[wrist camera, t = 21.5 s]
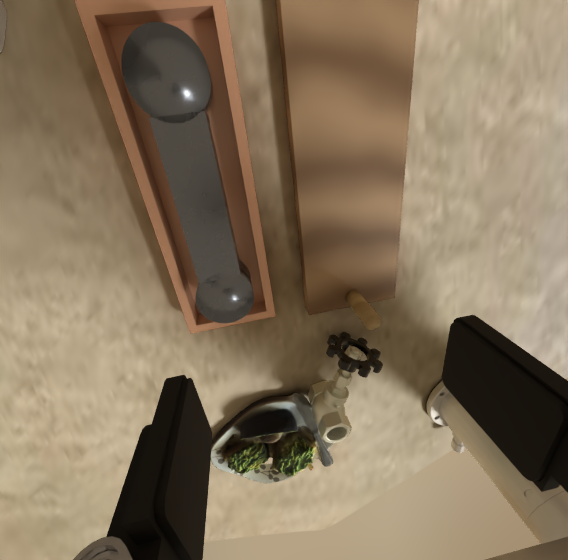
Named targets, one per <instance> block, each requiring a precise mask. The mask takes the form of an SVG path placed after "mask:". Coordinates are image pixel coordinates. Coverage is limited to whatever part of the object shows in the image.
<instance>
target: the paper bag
mask: <svg viewBox="0 0 568 560" xmlns="http://www.w3.org/2000/svg"><path fill="white" fill-rule="evenodd" d="M6 23H7V14H6V9H5V6H4V3H3V1H2V0H0V53H1V52H2V50H3V47H4V40H5V32H6Z"/></svg>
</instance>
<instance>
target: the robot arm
mask: <svg viewBox="0 0 568 560" xmlns="http://www.w3.org/2000/svg"><path fill="white" fill-rule="evenodd" d="M426 409H427V413H428V414H429V416H430V417H431V419H432V420H433V421H434V422H435V423H437V424H439V425H443V426H449V428H450V429H451V430H452V434H453V436H454V437H453V439H452V443H451V446H452V448H453V450H455V451H456V452H459V453H463V452H464V450H465V447H466V448H467V449H468V451H469V452H470V453H471V455H472V456H473V457H474V459H475V460H476V461H477V462H478V464H479V465H480V466H481V468H482V469H483V470H484V471H485V473H486V474H487V475H488V476H489V478H490V479H491V481H492V482H493V483H494V484H495V486H496V487H497V488H498V489H499V491H500V492H501V494H502V495H503V496H504V497H505V499H506V500H507V501H508V503H509V504H510V505H511V506H512V508H513V509H514V510H515V512H516V513H517V514H518V516H519V517H520V518H521V519H522V521H523V522H524V523H525V525H526V526H527V527H528V529H529V530H530V531H531V532H532V534H533V535H534V536H535V538H536V539H537V540H538V541H539V542H540V543H541V544H539V545H536V546H532V547H529V548H525V549H521V550H518V551H514V552H511V553H507V554H504V555H500V556H496V557H493V558H489V559H486V560H568V381H567V380H566V379H564V378H563V377H561V376H560V375H559V374H557V373H556V372H554V371H553V370H552V369H550V368H549V367H547V366H546V365H544V364H543V363H542V362H540V361H539V360H537V359H536V358H535V357H533V356H532V355H530V354H529V353H527V352H526V351H525V350H523V349H522V348H520V347H519V346H518V345H516V344H515V343H513V342H512V341H511V340H509V339H508V338H506V337H505V336H503V335H502V334H501V333H499V332H498V331H496V330H495V329H494V328H492V327H491V326H489V325H488V324H486V323H485V322H484V321H482V320H481V319H479V318H478V317H476V316H474V315H470V316H465V317H460V318H456V319H455V320H454V322H453V323H452V324H451V326H450V332H449V338H448V343H447V349H446V355H445V361H444V367H443V373H442V381H441V382H440V383H439V384H438V385H437V386H436V387H435V388H434V390H433V391H432V392H431V394H430V396H429V398H428V401H427V407H426ZM211 448H212V432H211V428H210V425H209V423H208V420H207V417H206V415H205V412H204V409H203V407H202V404H201V401H200V399H199V396H198V393H197V391H196V388H195V386H194V383H193V380H192V379H191V378H188V379H187V378H186V376H185V375H181V376H176V377H171V378H167V379H166V380H165V382H164V386H163V389H162V392H161V395H160V399H159V402H158V405H157V409H156V412H155V415H154V419H153V422H152V424H151V425H147V426H145V427H144V428H143V430H142V432H141V434H140V437H139V440H138V443H137V446H136V449H135V452H134V455H133V458H132V461H131V464H130V467H129V470H128V473H127V476H126V479H125V482H124V485H123V488H122V491H121V494H120V497H119V500H118V503H117V506H116V509H115V512H114V515H113V518H112V522H111V525H110V528H109V531H108V534H107V537H104V538H101V539H99V540H97V541H95V542H93V543H91V544H90V545H88V546H87V547H86V548H85V549H83V550H82V551H81V552H80V553H79V554H78V555H77V556H76V557H75V558H74V559H73V560H202V558H203V546H204V534H205V522H206V509H207V497H208V485H209V472H210V460H211Z"/></svg>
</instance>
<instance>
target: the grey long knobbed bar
mask: <svg viewBox="0 0 568 560" xmlns="http://www.w3.org/2000/svg"><path fill="white" fill-rule="evenodd" d="M121 66H122V74H123V78H124V81H125V84H126V87H127V89H128V91H129V93H130V95H131V96H132V98H133V99H134V101H135V102H136V103H137V104H138V106H139V107H140V108H141V109H142V110H144V111H145V112H146V113H147V114H149V115H150V116H152V118H149V120H150V123H151V126H152V130H153V133H154V136H155V140H156V143H157V146H158V149H159V153H160V156H161V159H162V163H163V166H164V169H165V173H166V176H167V179H168V183H169V186H170V189H171V192H172V196H173V199H174V202H175V206H176V209H177V212H178V216H179V219H180V222H181V225H182V229H183V232H184V235H185V239H186V242H187V245H188V249H189V252H190V255H191V259H192V262H193V265H194V268H195V272H196V275H197V278H198V286H197V291H196V297H195V301H196V306H197V308H198V310H199V311H200V313H201V314H202V315H203V316H204V317H206V318H207V319H209V320H211V321H213V322H217V323H232V322H235V321H238V320H240V319H242V318H243V317H245V316H246V315H247V314H248V313H249V311H250V310H251V308H252V306H253V303H254V293H253V287H252V282H251V276H250V272H249V269H248V268H247V266H246V265H245V264H244V263H243V262H242V261H241V260H239V255H238V251H237V246H236V241H235V237H234V232H233V227H232V223H231V218H230V213H229V209H228V204H227V199H226V195H225V190H224V185H223V181H222V176H221V171H220V167H219V162H218V157H217V153H216V148H215V143H214V139H213V134H212V129H211V125H210V120H209V115H208V114H207V112H208V111H209V109H210V106H211V103H212V98H213V86H212V81H211V77H210V73H209V70H208V66H207V63H206V60H205V58H204V56H203V54H202V52H201V50H200V49H199V47H198V46H197V44H196V43H195V42H194V40H193V39H192V38H191V37H190V36H189V35H187V34H186V33H185V32H184V31H182V30H181V29H179V28H178V27H176V26H173V25H171V24H168V23H164V22H150V23H146V24H143V25H141V26H139V27H138V28H136V29H135V30H134V31H133V32H132V33H131V34H130V35H129V37H128V38H127V40H126V42H125V45H124V47H123V51H122V58H121Z"/></svg>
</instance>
